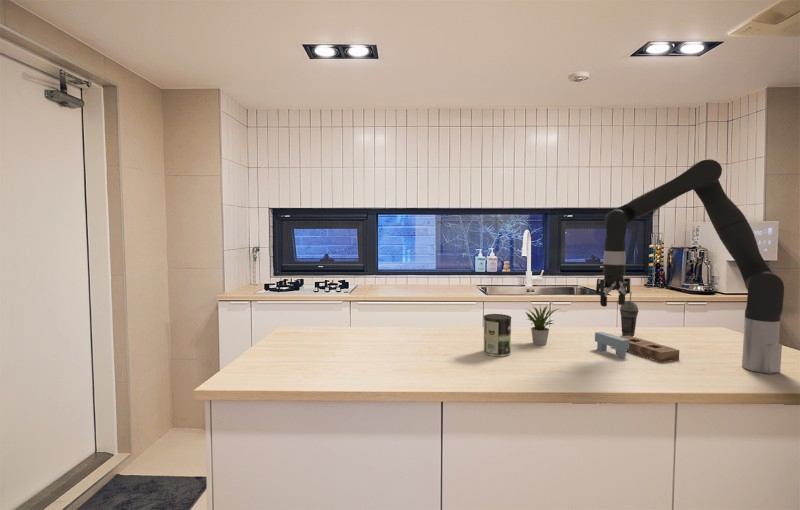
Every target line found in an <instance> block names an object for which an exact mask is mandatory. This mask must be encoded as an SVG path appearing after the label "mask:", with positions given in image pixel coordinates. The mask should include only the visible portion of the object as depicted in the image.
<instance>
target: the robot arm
mask: <svg viewBox="0 0 800 510" xmlns="http://www.w3.org/2000/svg"><path fill="white" fill-rule="evenodd" d="M722 173H723V168H722V165H721V164H720V163H719V162H718V161H717V160H715V159H712V158H711V159H710V158H706V159H700V160H699V161H696V162H695V163H694V164H692V165H691V166H690V167H689V168H688V169H686V170H685V171H684V172H683V173H681V174H680V175H678V176H676V177H674V178H672V179H671V180H669V181H667V182H665V183H663V184H661V185H660V186H657V187H655V188H653V189H650V190H649V191H647V192H645V193H642V194H641V195H639V196H637V197H636V198H633V199H632V200H630V201H628V202H627V203H625V204H623V205H621V206H619V207H617V208H615V209H612V210H611V211H609V212H608V213H606V215H605V217H604V222H605V225H606V227H605V229H606V230H605V231H606V233H605V235H606V236H605V239H604V251H603V253H604V254H603V260H602V262H603V263H602V265H603V266H602V274H603V276H604V277H603V278H597V279H596V288H595V294H596V295H598V296H600V300H599V302H600V306H601V307H605V308H606V307H607V305H608V295H609V293H611V292H612V291H617V293H618V299H617V300H618V303H617V304H618V305H620V306H621V305H624V304H625V302H626V296H627V295H628V294H629V295H630V292H631V278H629V277H624V276H625V275H626V262H627V261H626V259H627V258H626V236H627V228H628V227H627V226H628V223H630V222H632V221H634V220H636V219H638V218H641V217H643V216H646V215H648V214H650V213H652V212H654V211H656V210H658V209H659V208H661V207H663V206H665V205H666V204H669V202H671V201H673V200H675V199H676V198H679V197H680V196H682V195H684V194H686V193H689V192H690V191H694V192H695V194H696V195H697V197H698V198H699V199H700V201H701V202H702V204H703V207H704V209H705V211H706V214H707V215H708V218H709V221H711V222H710V223H711V224H712V226H713V229H714V230H715V232H716V235H718V238H719V239H720V241H721V243H722V244H723V246H724V247H725V249H726V250H727V252H728V253H729V255H730V256H731V257H732V259H733V260H734V262H735V264H736V265H737V268H738V270H739V272H740V274H741V278H742V280H743V282H744V287H745V288H746V290H747V296H746V297H747V299H746V308H745V310H744V321H743V322H744V324H743V339H742V342H743V343H742V357H741V361H742V362H741V367H742V368H744V369H745V370H749V371H752V372H756V373H763V374H768V375H770V374H777V373H780V372H781V366H782V365H781V364H782V347H783V344H782V343H779V342H780V326H781V316H782V313H783V308H784V297H785V284H784V281H783V280H782V278H781V277H780V276H779V275H778V274H776V273H774V272H773V271H772V269H771V268H770V267H769V265H768V264H767V262H766V261H765V259H764V258H763V256H762V254H761V253H760V252H761V251H760V249H759V245H758V242H757V239H756V235H755V233H754V231H753V229H752V227H751V225H750V223H749V222H748V219H747V217H746V216H745V214H744V213H743V212H742V210H740V208H739V207H738V206H737V205H736V204H735V202H733V201H732V200H731V199H730V198H729V197H728V195H727V194H726V193H725V190H724V189H723V187H722V184H721V182H720V180H719V179H720V178H721V176H722Z"/></svg>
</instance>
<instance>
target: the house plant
mask: <svg viewBox="0 0 800 510" xmlns="http://www.w3.org/2000/svg"><path fill="white" fill-rule="evenodd" d="M531 307H532V308H533V309H534V311H535V313H534V312H533V311H531V310H530V309H529V308H527V307H525V309H527V311H529V312H530V313H528V312H526V311H525V314H526V316H527V317H528V318H527V320H528V321H531V323H530V325H534V326H533V327H530V330H531V336H532V343H533V344H534V346H535V345H537V346H546V345H547V342H548V337H549V333H550V329H549V328H548V327H546V326H548V325H554V323H553V322H556V321H555V320H552V319H551V320H548V318H549V317H550V316H551V315H552V314H553V313H555V312H556V311H558V310H559V311H560V308H557V309H554V310H553V309H552V310H551V307H550V308H548V307H549V306H548V305H546V306H545V307H543V309H542V307H541V305H540V304H539V310H538V309H537V307H535V306H534V305H532V306H531ZM547 308H548V309H547ZM547 310H548V311H547ZM547 320H548V321H547ZM546 321H547V322H546Z"/></svg>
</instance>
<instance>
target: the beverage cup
mask: <svg viewBox="0 0 800 510" xmlns="http://www.w3.org/2000/svg"><path fill="white" fill-rule="evenodd" d="M619 313H620V322H621V324H620V325H621V336H622V335H623V336H632V337H633V336H634V337H635V333H636V325H637V319H638V314H639V308H638V305H637V303H635V302H634V301H632V291H630V293H629V300H625V304H624V305H620V308H619Z"/></svg>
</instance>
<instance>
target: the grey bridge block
mask: <svg viewBox="0 0 800 510" xmlns="http://www.w3.org/2000/svg"><path fill="white" fill-rule="evenodd" d="M594 342H596V343H597V345H596V346H597V347H596V349H597V350H598V349H599V351H601V350H604V351H607V350H608V349H607V348H608V347H611V348H615V356H616V355H617V356H616V357H618V356H619V358H625V356H627V351H626V349H629V340H628V339H625V338H622V337H621V336H618V335H615V334H611V333H609V332H604V331H597V332H594Z"/></svg>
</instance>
